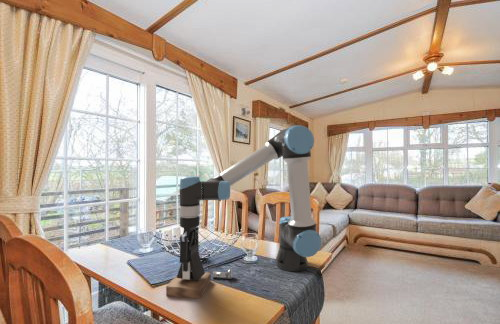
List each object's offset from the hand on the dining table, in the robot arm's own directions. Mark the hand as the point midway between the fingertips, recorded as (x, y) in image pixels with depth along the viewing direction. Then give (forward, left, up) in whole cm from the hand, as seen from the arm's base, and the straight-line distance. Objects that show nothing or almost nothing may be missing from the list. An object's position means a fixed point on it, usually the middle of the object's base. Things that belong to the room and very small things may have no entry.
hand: (189, 274), depth 98 cm
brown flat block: (0, 0, -5) cm, 5 cm away
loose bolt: (-10, -10, -5) cm, 15 cm away
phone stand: (0, 0, -1) cm, 1 cm away
